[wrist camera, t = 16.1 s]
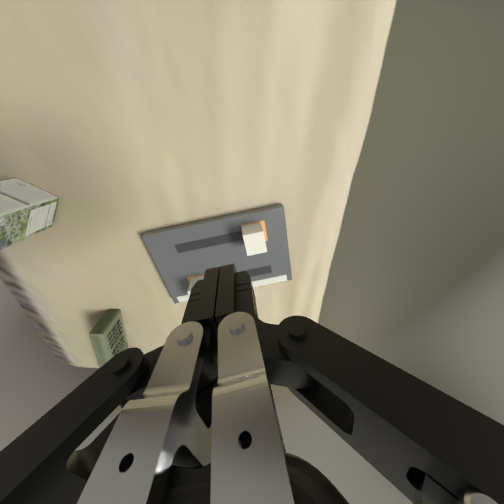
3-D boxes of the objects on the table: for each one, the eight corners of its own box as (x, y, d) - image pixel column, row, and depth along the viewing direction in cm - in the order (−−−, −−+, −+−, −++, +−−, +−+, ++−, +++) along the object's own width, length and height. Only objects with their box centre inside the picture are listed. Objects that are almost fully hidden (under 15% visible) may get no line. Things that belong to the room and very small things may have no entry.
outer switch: (191, 277, 37) (187, 291, 34) (208, 274, 37) (205, 287, 34) (197, 292, 39) (194, 307, 36) (213, 289, 39) (211, 303, 36)
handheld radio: (123, 308, 43) (137, 378, 54) (106, 307, 42) (124, 378, 54) (104, 334, 37) (124, 407, 48) (84, 333, 36) (109, 406, 48)
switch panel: (145, 231, 35) (140, 236, 33) (281, 203, 35) (283, 206, 33) (177, 296, 42) (174, 303, 40) (289, 273, 42) (292, 279, 40)
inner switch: (241, 226, 33) (242, 235, 30) (260, 222, 33) (263, 231, 30) (245, 244, 35) (247, 256, 32) (263, 241, 35) (267, 252, 32)
